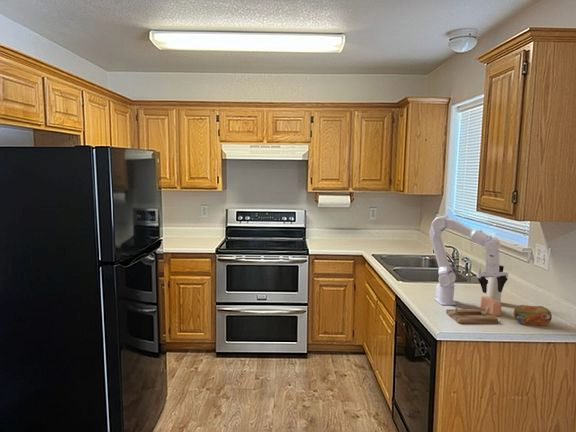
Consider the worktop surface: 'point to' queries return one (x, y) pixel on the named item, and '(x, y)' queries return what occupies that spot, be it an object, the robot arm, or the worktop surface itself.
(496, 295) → the travel mug
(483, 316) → the board
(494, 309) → the bar
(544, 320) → the tin
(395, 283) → the worktop surface
